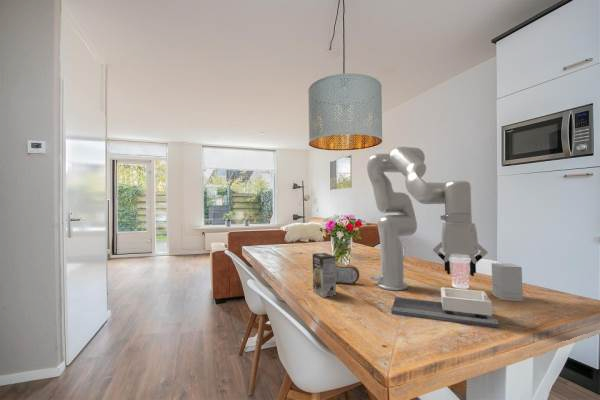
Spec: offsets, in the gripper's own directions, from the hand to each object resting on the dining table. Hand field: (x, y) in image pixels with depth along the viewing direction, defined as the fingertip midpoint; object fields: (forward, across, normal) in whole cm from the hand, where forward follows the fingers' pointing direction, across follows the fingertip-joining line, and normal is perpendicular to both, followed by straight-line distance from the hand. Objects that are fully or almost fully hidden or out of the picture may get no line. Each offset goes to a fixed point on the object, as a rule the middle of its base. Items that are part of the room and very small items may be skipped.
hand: (460, 273), depth 92 cm
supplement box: (+14, +18, +26) cm, 35 cm away
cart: (+12, +1, 0) cm, 13 cm away
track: (+14, -6, 0) cm, 15 cm away
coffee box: (+14, -49, +6) cm, 51 cm away
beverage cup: (+4, 0, 0) cm, 4 cm away
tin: (+14, -46, +24) cm, 54 cm away
